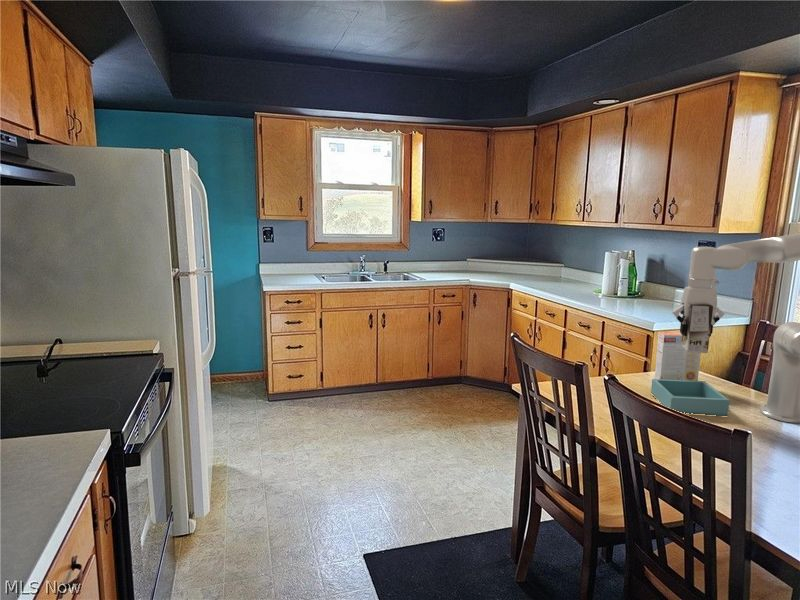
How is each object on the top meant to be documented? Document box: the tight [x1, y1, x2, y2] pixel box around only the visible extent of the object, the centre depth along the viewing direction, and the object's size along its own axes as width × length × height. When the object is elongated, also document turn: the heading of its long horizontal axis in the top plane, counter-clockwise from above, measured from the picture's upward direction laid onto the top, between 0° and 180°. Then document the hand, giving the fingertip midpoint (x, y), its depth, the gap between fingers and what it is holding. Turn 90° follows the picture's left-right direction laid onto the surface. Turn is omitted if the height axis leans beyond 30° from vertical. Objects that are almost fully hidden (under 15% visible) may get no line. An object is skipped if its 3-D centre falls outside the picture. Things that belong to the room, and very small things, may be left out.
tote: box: [650, 378, 731, 417], centre depth 173 cm, size 18×18×6 cm
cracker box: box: [654, 331, 702, 381], centre depth 191 cm, size 14×6×21 cm, turn 84°
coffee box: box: [681, 305, 714, 354], centre depth 167 cm, size 9×6×16 cm
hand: (695, 334), depth 168 cm, fingers closed on coffee box, 7 cm apart
